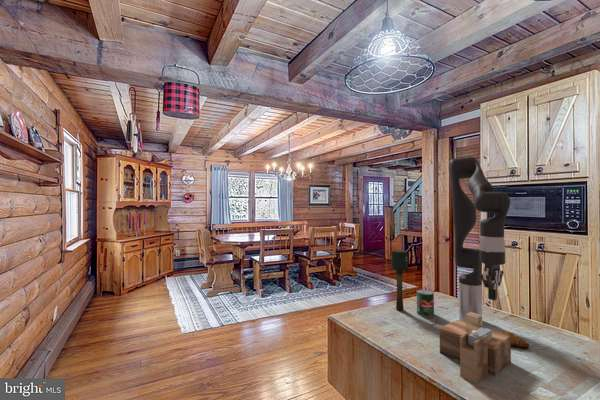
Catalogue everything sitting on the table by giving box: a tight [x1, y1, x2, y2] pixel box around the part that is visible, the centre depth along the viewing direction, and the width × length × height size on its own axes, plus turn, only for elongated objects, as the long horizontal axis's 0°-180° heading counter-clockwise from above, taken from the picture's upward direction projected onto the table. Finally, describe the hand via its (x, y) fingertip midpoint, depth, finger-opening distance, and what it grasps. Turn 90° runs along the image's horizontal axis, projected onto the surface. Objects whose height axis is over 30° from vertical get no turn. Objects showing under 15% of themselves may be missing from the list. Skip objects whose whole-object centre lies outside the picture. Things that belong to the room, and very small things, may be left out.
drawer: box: [468, 326, 492, 346], centre depth 98 cm, size 10×3×4 cm, turn 126°
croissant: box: [498, 330, 530, 349], centre depth 116 cm, size 14×7×5 cm, turn 47°
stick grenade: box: [390, 249, 409, 312], centre depth 153 cm, size 8×9×30 cm
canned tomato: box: [416, 288, 435, 318], centre depth 147 cm, size 8×8×11 cm
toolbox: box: [439, 330, 512, 384], centre depth 103 cm, size 22×18×12 cm
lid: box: [439, 312, 510, 350], centre depth 106 cm, size 13×18×7 cm
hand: (492, 299), depth 104 cm, fingers closed
